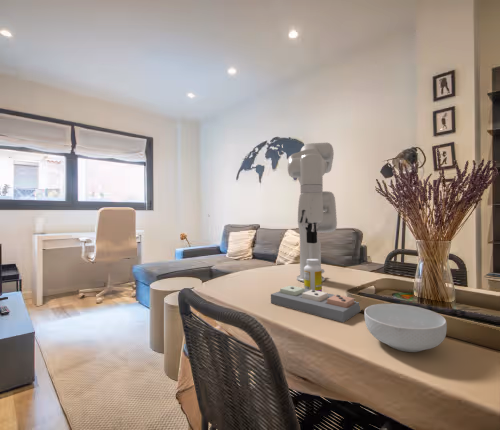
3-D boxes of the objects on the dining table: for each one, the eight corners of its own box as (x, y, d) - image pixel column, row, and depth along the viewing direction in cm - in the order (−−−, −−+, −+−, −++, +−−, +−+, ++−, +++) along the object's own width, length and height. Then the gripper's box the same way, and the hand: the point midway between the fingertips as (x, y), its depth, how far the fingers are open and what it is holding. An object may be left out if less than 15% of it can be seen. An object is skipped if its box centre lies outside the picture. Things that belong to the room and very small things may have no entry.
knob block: (290, 296, 103) (290, 284, 103) (304, 299, 99) (304, 287, 99) (280, 299, 98) (280, 287, 98) (294, 303, 94) (294, 290, 94)
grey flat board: (294, 294, 106) (294, 286, 106) (362, 309, 88) (362, 300, 88) (270, 302, 96) (270, 294, 96) (343, 322, 78) (343, 311, 78)
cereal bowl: (384, 324, 77) (384, 298, 77) (457, 346, 64) (457, 315, 64) (350, 342, 66) (350, 312, 66) (429, 372, 53) (429, 335, 53)
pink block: (336, 307, 90) (336, 293, 90) (354, 311, 86) (354, 297, 86) (327, 311, 86) (327, 297, 86) (345, 316, 82) (345, 301, 82)
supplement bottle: (322, 291, 111) (322, 258, 111) (321, 295, 104) (320, 261, 104) (305, 289, 113) (305, 257, 113) (303, 294, 107) (302, 260, 107)
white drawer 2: (311, 301, 97) (311, 288, 97) (327, 305, 92) (327, 292, 92) (302, 305, 92) (302, 292, 92) (318, 309, 88) (318, 295, 88)
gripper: (313, 191, 105) (313, 239, 106) (290, 190, 94) (290, 244, 95) (331, 190, 100) (331, 241, 101) (309, 189, 89) (309, 246, 90)
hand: (311, 242), depth 98 cm, fingers closed
